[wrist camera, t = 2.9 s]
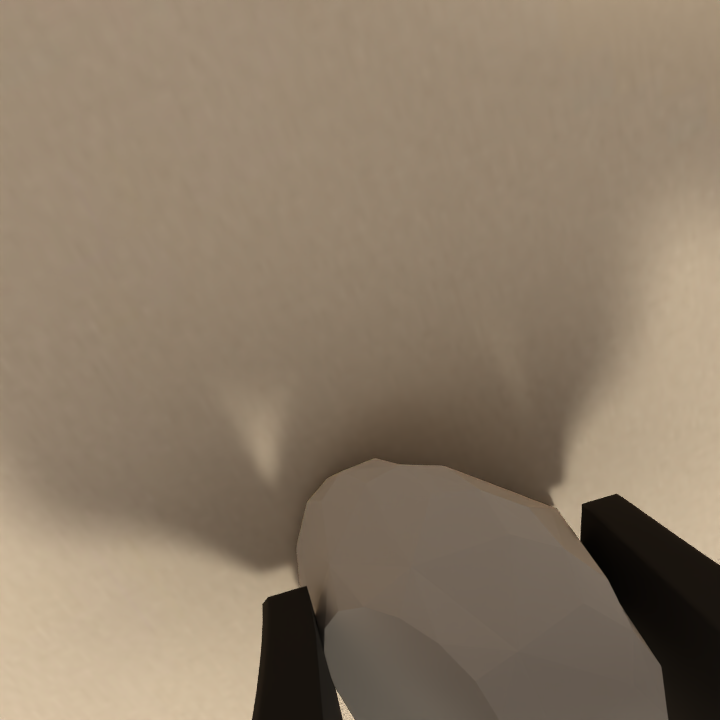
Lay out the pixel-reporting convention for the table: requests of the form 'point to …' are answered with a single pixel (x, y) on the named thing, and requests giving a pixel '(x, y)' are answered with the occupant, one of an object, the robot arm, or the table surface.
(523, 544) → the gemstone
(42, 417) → the table surface
